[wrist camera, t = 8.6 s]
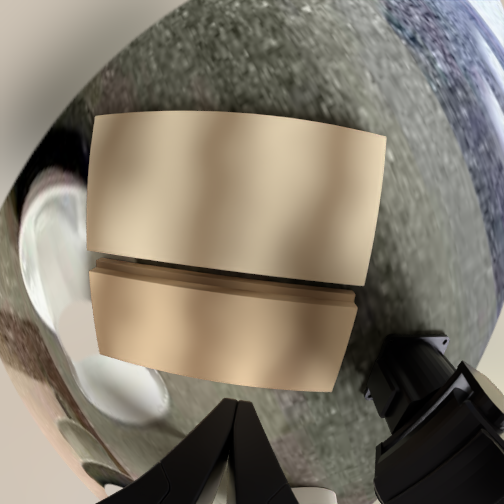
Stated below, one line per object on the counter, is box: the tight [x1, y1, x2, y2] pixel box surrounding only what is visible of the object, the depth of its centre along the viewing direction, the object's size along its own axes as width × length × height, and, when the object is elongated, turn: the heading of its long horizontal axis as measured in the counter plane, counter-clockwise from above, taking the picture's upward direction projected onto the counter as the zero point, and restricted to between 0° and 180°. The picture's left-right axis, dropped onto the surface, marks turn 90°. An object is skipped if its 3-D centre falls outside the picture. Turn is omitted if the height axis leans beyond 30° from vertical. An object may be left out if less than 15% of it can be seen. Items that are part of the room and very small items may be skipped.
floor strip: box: [89, 258, 358, 392], centre depth 19 cm, size 18×8×2 cm, turn 84°
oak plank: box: [87, 111, 386, 286], centre depth 16 cm, size 18×9×2 cm, turn 84°
